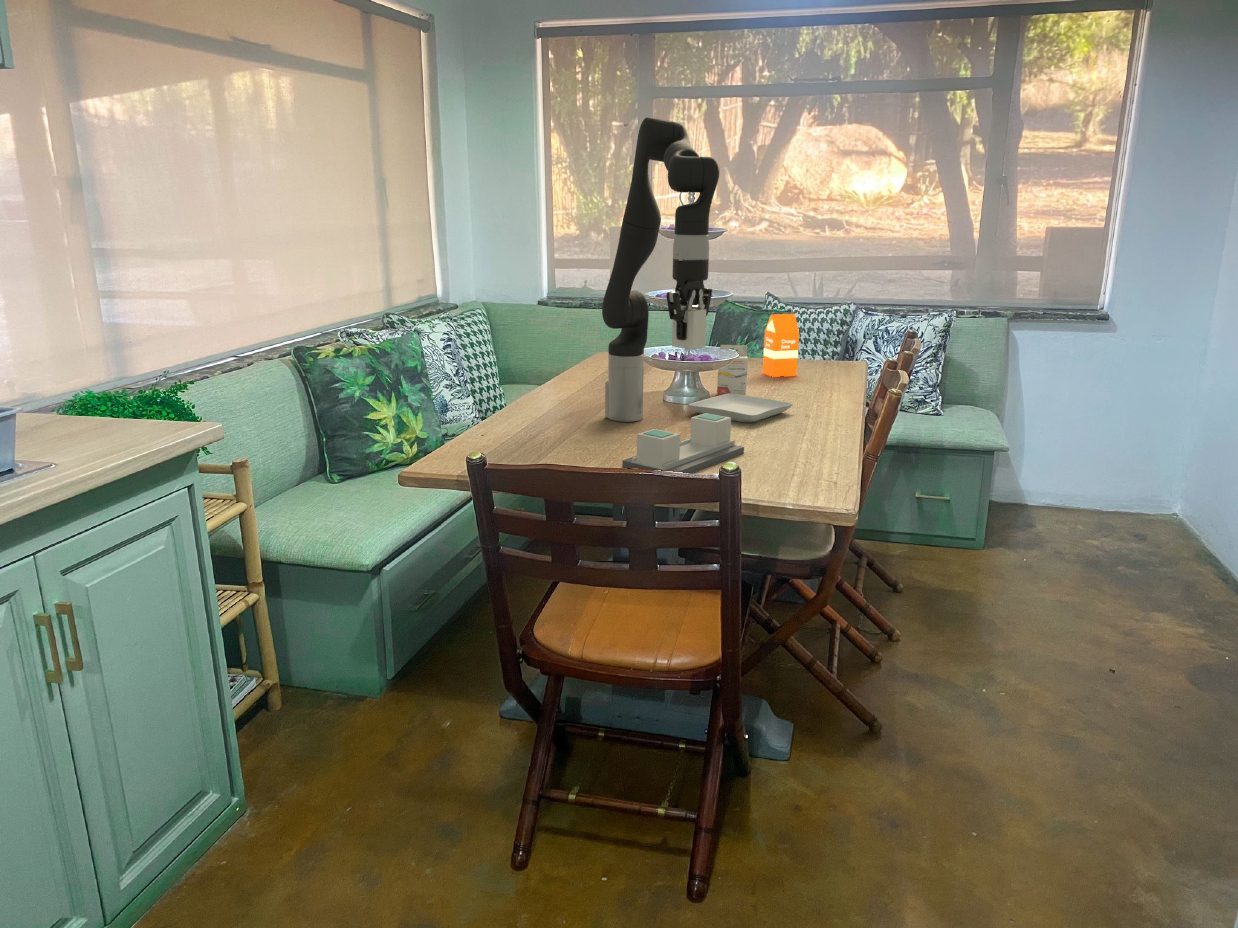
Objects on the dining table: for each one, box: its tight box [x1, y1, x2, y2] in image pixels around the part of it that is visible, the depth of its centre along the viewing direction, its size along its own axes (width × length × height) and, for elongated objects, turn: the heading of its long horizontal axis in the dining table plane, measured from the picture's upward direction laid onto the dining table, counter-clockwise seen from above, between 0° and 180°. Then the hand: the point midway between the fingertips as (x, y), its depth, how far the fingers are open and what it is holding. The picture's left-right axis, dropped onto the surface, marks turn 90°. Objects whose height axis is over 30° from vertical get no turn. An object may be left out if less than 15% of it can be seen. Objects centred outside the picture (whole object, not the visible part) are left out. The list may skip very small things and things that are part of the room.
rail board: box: [621, 413, 745, 474], centre depth 200 cm, size 14×27×8 cm, turn 140°
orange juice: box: [762, 313, 800, 378], centre depth 298 cm, size 8×9×20 cm
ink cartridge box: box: [716, 344, 749, 396], centre depth 266 cm, size 9×5×15 cm, turn 84°
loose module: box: [671, 308, 707, 350], centre depth 192 cm, size 6×4×8 cm
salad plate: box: [688, 393, 793, 423], centre depth 244 cm, size 21×21×3 cm
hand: (688, 338), depth 193 cm, fingers closed on loose module, 4 cm apart
